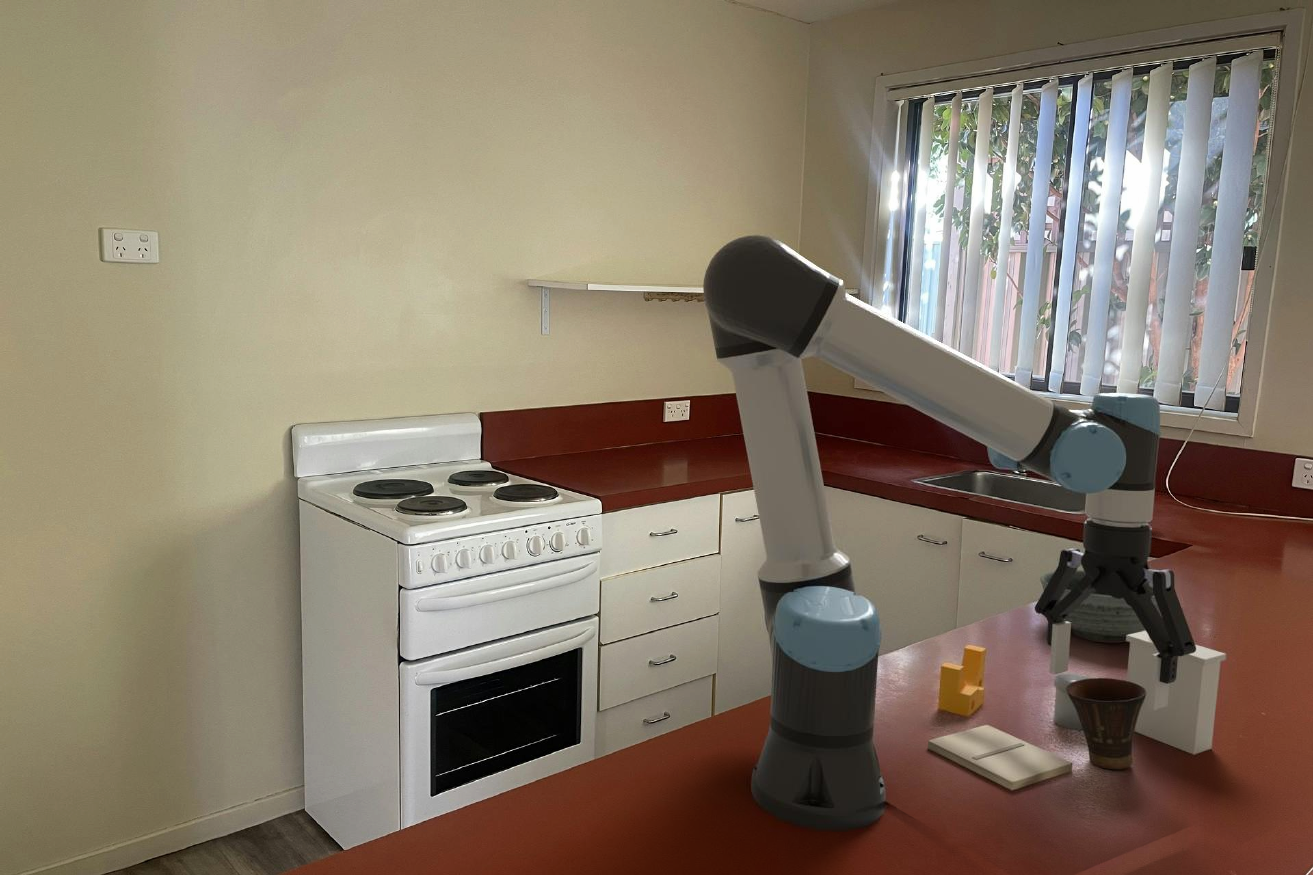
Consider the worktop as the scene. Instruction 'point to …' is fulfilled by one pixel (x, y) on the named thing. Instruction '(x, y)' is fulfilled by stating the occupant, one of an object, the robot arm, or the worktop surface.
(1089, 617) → the bowl
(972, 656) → the yellow shaft support bracket
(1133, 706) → the cup
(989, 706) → the worktop surface
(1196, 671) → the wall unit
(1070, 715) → the grey knob
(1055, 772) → the board
